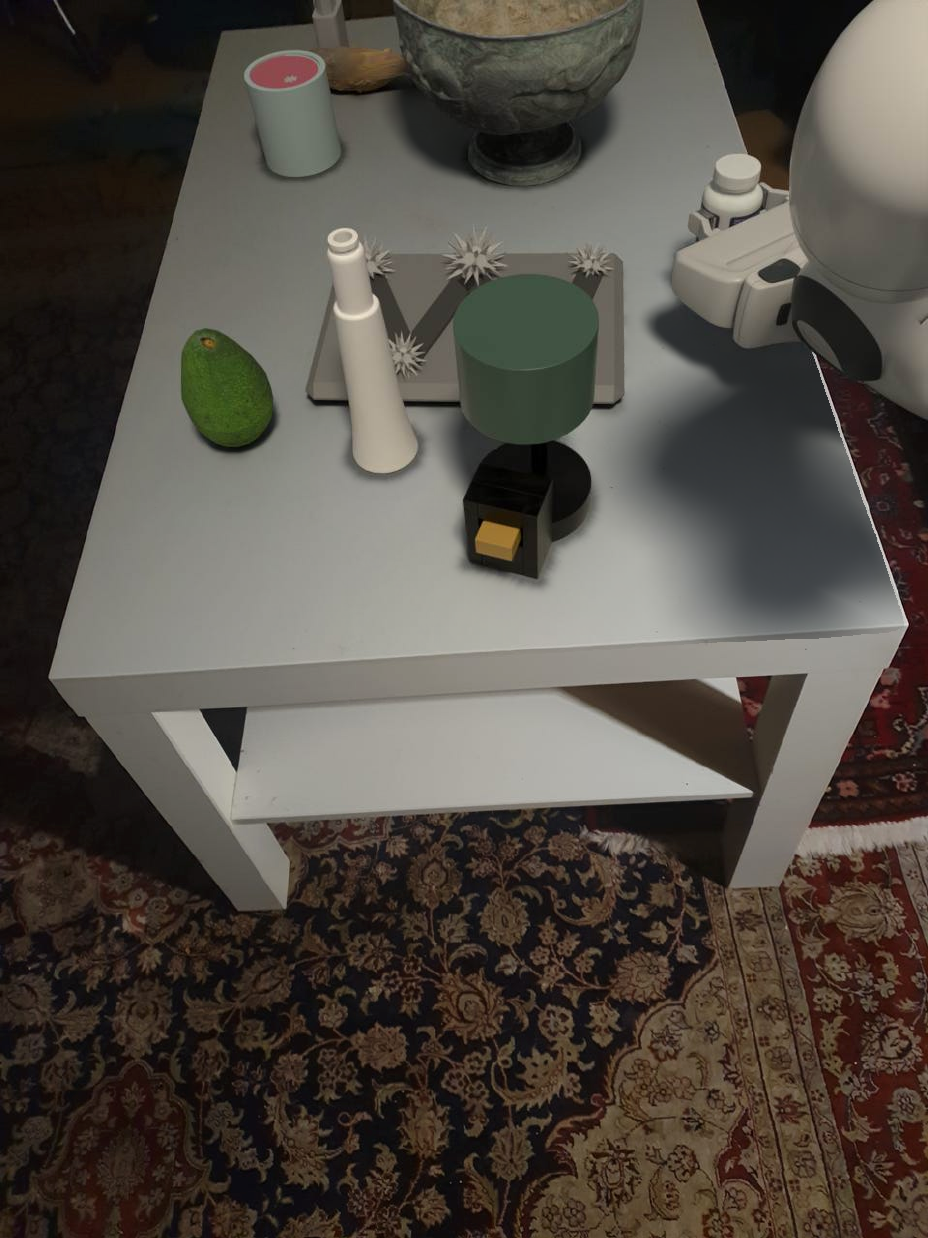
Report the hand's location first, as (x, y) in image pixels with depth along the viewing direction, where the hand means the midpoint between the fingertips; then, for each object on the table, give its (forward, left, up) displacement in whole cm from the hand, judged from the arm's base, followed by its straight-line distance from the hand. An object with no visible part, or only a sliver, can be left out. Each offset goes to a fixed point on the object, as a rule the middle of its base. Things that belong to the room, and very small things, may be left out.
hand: (723, 204), depth 85 cm
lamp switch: (+17, +37, -6) cm, 41 cm away
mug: (+48, -26, -10) cm, 56 cm away
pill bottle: (-1, +1, -6) cm, 6 cm away
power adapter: (+48, -45, -10) cm, 67 cm away
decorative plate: (+23, +8, -10) cm, 26 cm away
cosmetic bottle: (+29, +24, -10) cm, 39 cm away
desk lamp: (+16, +30, -10) cm, 35 cm away
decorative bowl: (+21, -24, -10) cm, 34 cm away
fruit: (+43, +23, -10) cm, 50 cm away
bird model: (+42, -39, -10) cm, 59 cm away
